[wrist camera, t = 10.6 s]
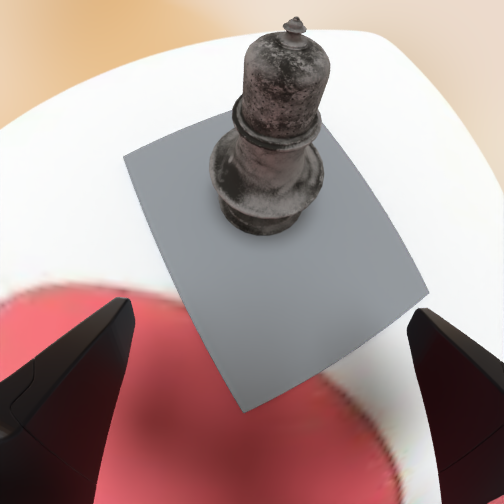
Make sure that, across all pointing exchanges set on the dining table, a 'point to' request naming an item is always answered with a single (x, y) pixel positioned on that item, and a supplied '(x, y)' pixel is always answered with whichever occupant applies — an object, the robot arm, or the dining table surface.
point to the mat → (274, 265)
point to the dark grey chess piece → (273, 134)
